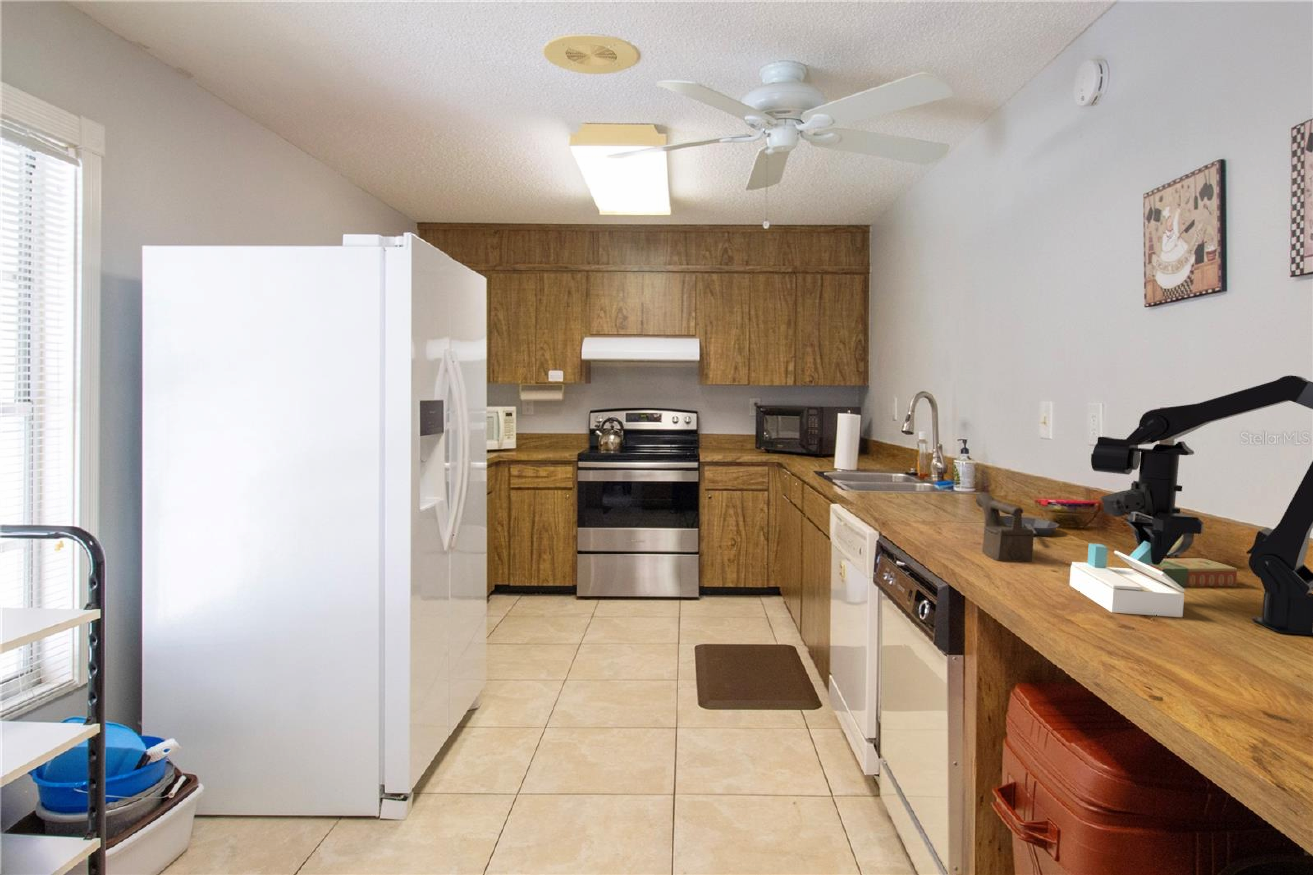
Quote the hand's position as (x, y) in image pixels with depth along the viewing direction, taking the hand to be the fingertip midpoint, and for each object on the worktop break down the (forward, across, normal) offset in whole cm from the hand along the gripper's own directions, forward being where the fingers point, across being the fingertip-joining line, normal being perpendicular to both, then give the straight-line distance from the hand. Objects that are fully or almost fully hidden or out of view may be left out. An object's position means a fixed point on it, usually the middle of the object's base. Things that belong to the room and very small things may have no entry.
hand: (1150, 562), depth 128 cm
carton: (+7, -16, +14) cm, 23 cm away
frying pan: (+7, -57, -2) cm, 57 cm away
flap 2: (+1, +2, -2) cm, 3 cm away
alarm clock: (+7, -35, +20) cm, 41 cm away
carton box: (+7, +2, -5) cm, 9 cm away
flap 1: (+3, +2, -8) cm, 9 cm away
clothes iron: (+7, -31, -16) cm, 36 cm away
